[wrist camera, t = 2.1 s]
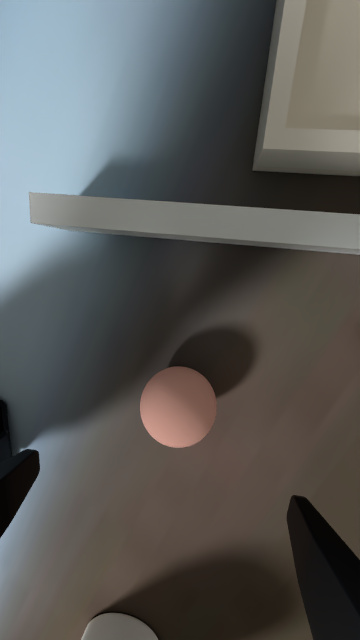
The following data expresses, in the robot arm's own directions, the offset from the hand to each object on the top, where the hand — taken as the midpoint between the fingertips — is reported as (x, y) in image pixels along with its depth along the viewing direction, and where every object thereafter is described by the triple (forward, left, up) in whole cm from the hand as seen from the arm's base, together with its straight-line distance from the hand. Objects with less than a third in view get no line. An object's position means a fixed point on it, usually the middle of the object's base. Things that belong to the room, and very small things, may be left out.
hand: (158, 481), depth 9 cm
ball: (0, 0, -5) cm, 5 cm away
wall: (+3, +9, -7) cm, 12 cm away
